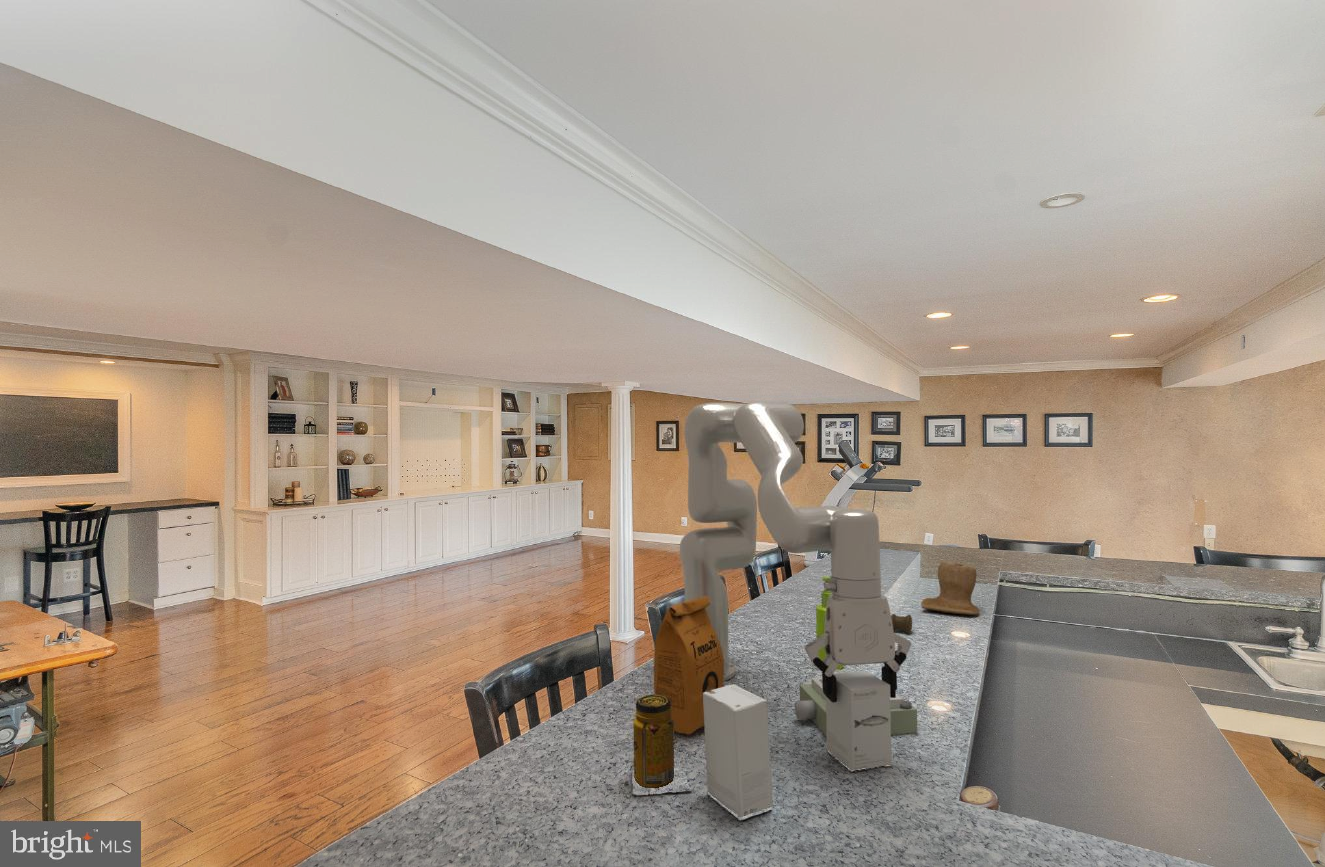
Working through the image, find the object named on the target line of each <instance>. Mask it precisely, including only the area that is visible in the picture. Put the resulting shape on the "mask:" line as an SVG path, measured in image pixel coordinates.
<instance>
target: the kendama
mask: <svg viewBox="0 0 1325 867" xmlns="http://www.w3.org/2000/svg"><path fill="white" fill-rule="evenodd" d="M891 618H892V624H893V631H896V630H898V631H902V632H904V633H906V634H907V635H910V634H911V633H912V629H913V618H912V615H911V614H908V615H906V616H899V615H897V614H894V613H892V614H891Z"/></svg>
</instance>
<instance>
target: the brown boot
mask: <svg viewBox="0 0 1325 867" xmlns="http://www.w3.org/2000/svg"><path fill="white" fill-rule="evenodd" d="M937 577H938V578H937V579H938V585H939V595H938V596H937V597H926V598H924V599H923V600H922V601H921V603H920V607H921V609H923V610H928V611H933V612H939V613H947V614H957V615H977V614H979V613H980V608H979V607H977V606H975V605H974V604H973V603H972V595H973V591H974V589H975V587H976V583H977V568H976V567H975V566H973V565H971V564H964V563H958V562H957V563H956V562H951V561H945V560H944V561H942V560H941V561H940V562H939V564H938V566H937Z"/></svg>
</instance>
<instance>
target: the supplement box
mask: <svg viewBox="0 0 1325 867" xmlns="http://www.w3.org/2000/svg"><path fill="white" fill-rule="evenodd" d="M833 675H834V676H835V677H836V682H837V701H836V702H833V703H832V702H831V701H830V700H829V699H828V698H827V697H826V724H827V737H826V752H827V751H829V752H830V753H831V754H832V755H833V756H834V757H835V758H837V759H838V760H839V761H840V762H842V763H843V764H844V765H845V766H847V767H848V768H849V769H850V770H858V769H862V768H871V769H875V768H874V767H877V766H884V767H887V766H886V765H891V766H892V739H891V738H892V735H891V708H890V685H889V684H888V683H886V682H884V681H882V678H881V679H880V678H879V677H877V676H875V675H873V674H872V673H869V672H868V671H866V670H857V671H856V670H855V671H848V672H838V673H833ZM832 755H831V756H832ZM833 756H832V757H833ZM834 757H833V758H834ZM835 758H834V759H835ZM877 768H878V767H877Z"/></svg>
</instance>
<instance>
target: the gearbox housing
mask: <svg viewBox="0 0 1325 867" xmlns="http://www.w3.org/2000/svg"><path fill="white" fill-rule="evenodd" d="M810 682H811V683H805V684H799V700H795V702H794V714H795V717H796V718H797V720H809V719H811V721H812V722H813V723H814V722H815V723H816V724H815V723H814V724H815V725H816V726H817V727H818V729H819V730H820V729H821V730H822V731H823V732H824V733H825V734H824V733H823V732H822V731H821V730H820V731H821V732H822V733H823V734H824V736H827V724H826V696H825V694H824V693H823V687H822V676H821V677H812V678H811V681H810ZM890 708H891V736H893V735H895V736H896V735H905V734H906V733H909V734H918V709H917V708H916V707H914V706H913V704H912V702H911V701H909V700H905V699H904V698H903V697H902V696H900V695H899V694H898V693H896V698H891V697H890ZM906 735H907V734H906Z"/></svg>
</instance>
